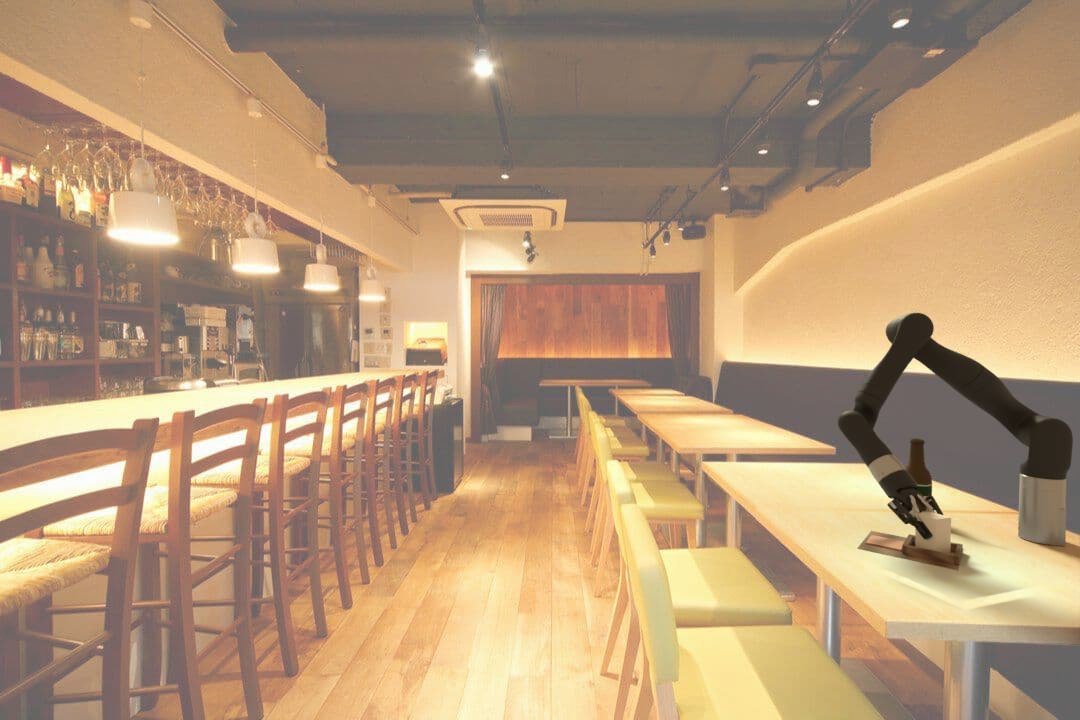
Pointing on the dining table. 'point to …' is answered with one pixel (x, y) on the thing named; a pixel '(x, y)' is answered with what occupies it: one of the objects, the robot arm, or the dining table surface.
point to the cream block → (935, 532)
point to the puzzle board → (911, 550)
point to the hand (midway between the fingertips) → (937, 536)
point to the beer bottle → (919, 468)
